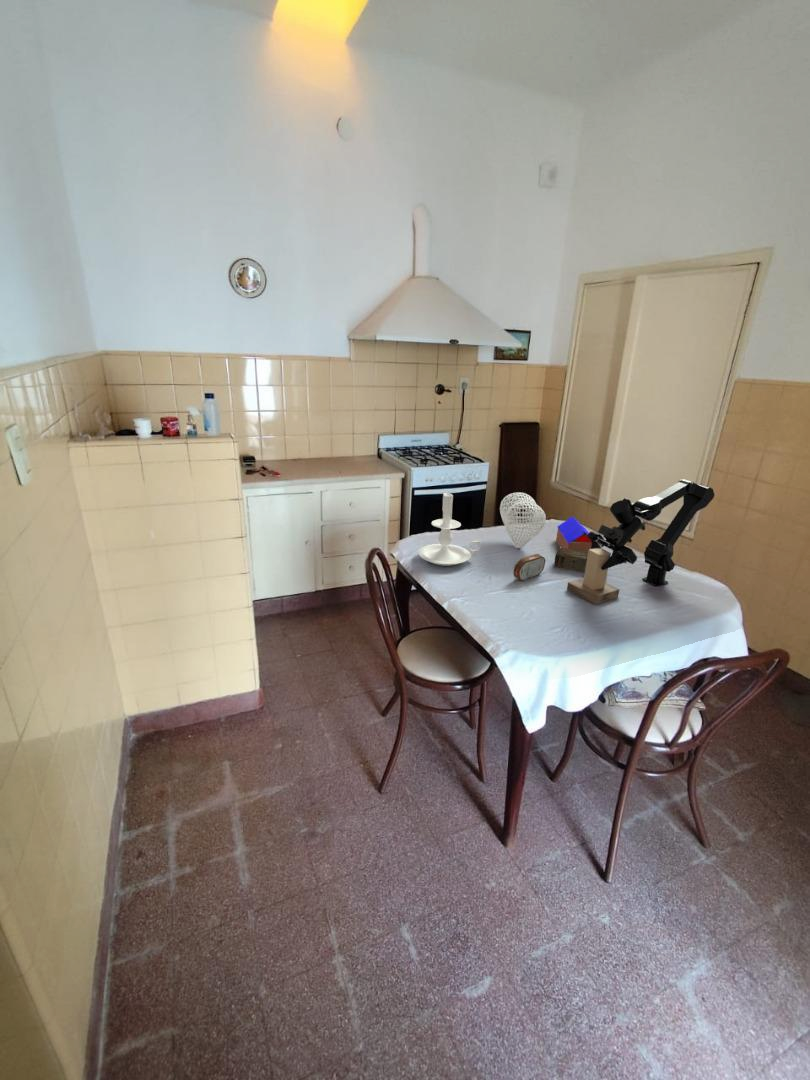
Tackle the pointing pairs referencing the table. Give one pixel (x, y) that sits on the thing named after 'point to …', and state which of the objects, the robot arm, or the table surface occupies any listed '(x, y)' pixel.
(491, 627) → the table surface
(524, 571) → the tin
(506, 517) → the heart
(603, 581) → the kraft carton
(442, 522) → the candlestick
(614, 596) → the walnut podium
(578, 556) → the beverage carton
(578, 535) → the house
